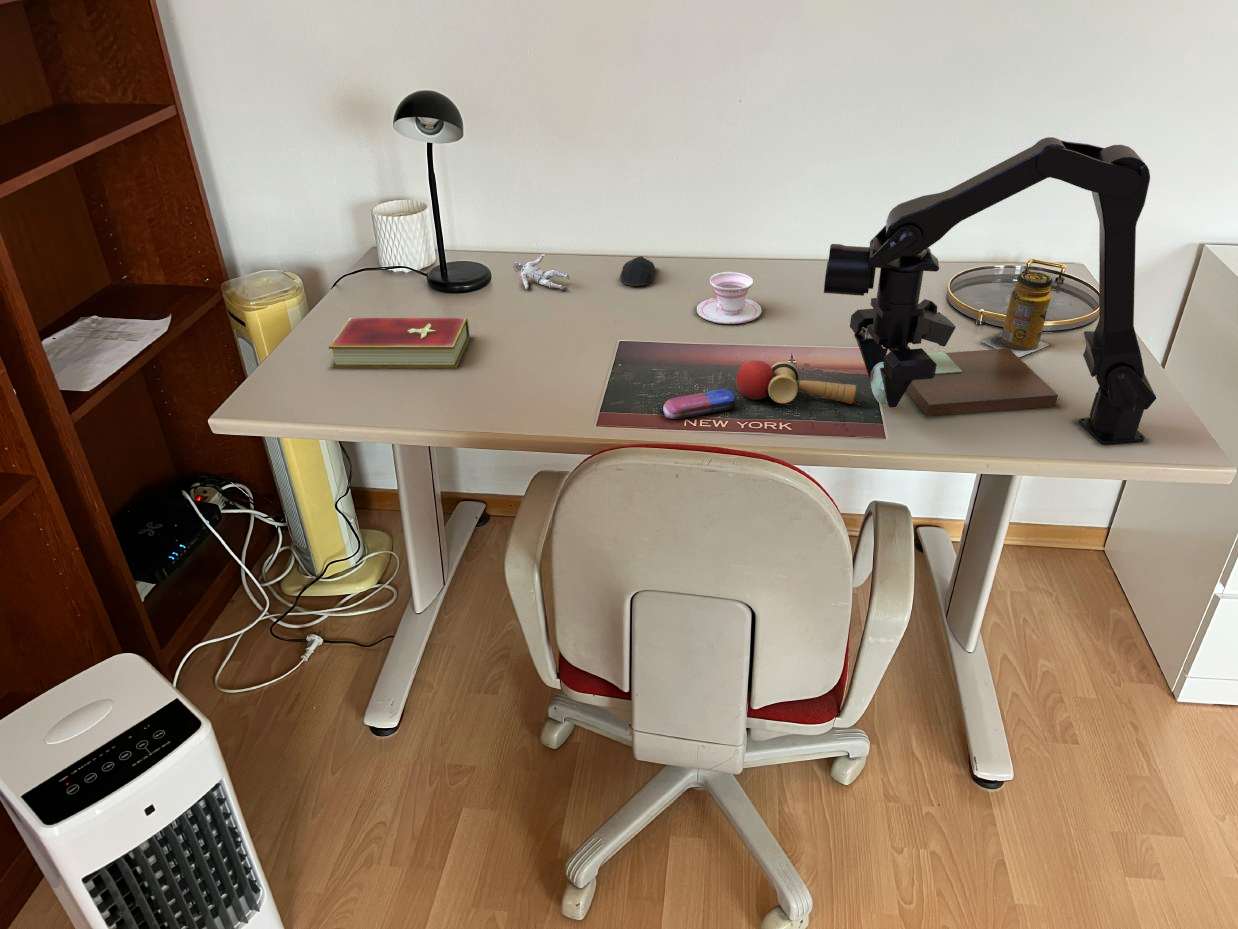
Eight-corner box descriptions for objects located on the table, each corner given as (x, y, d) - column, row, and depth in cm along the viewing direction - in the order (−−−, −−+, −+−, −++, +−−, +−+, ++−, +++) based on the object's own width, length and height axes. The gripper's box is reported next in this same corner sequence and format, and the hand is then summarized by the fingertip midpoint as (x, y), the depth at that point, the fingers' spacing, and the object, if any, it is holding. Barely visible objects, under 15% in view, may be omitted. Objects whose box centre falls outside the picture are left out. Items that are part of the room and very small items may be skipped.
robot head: (896, 417, 134) (903, 376, 130) (868, 415, 134) (873, 374, 131) (893, 391, 140) (899, 352, 136) (865, 390, 141) (871, 350, 137)
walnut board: (1055, 406, 137) (1058, 393, 136) (926, 416, 135) (929, 403, 134) (1006, 359, 150) (1009, 347, 149) (888, 367, 149) (890, 355, 147)
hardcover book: (354, 337, 163) (349, 315, 161) (469, 337, 162) (467, 315, 160) (333, 367, 153) (328, 345, 151) (456, 368, 152) (453, 345, 150)
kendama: (847, 395, 144) (735, 375, 145) (858, 364, 139) (742, 343, 140) (848, 427, 138) (730, 406, 139) (859, 396, 134) (738, 374, 135)
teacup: (773, 318, 166) (776, 286, 162) (714, 329, 162) (715, 297, 159) (742, 294, 175) (744, 264, 172) (685, 305, 172) (686, 274, 168)
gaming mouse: (660, 262, 191) (660, 243, 188) (649, 289, 179) (649, 270, 176) (630, 260, 192) (630, 242, 190) (617, 287, 180) (617, 268, 177)
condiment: (1049, 345, 154) (1067, 278, 148) (1017, 358, 150) (1034, 290, 144) (1012, 330, 159) (1028, 265, 153) (981, 343, 155) (995, 276, 149)
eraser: (668, 422, 136) (668, 411, 135) (660, 409, 139) (659, 398, 138) (739, 409, 138) (739, 398, 137) (729, 396, 141) (729, 386, 140)
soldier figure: (554, 301, 177) (501, 275, 179) (558, 308, 182) (506, 283, 184) (572, 266, 178) (519, 241, 180) (576, 275, 183) (524, 250, 184)
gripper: (982, 319, 120) (961, 421, 129) (927, 268, 136) (911, 362, 144) (901, 325, 119) (885, 428, 128) (854, 273, 135) (843, 368, 144)
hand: (883, 394), depth 136 cm, fingers closed on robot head, 7 cm apart
